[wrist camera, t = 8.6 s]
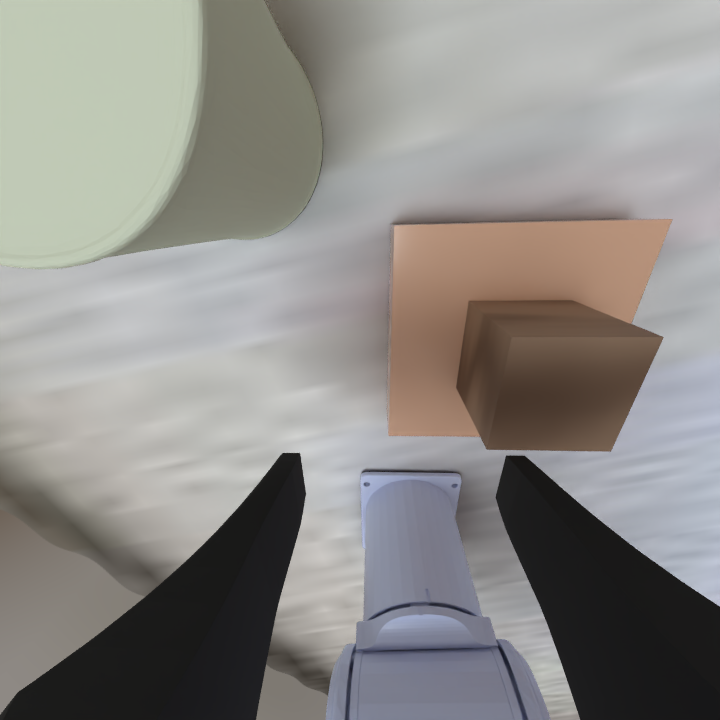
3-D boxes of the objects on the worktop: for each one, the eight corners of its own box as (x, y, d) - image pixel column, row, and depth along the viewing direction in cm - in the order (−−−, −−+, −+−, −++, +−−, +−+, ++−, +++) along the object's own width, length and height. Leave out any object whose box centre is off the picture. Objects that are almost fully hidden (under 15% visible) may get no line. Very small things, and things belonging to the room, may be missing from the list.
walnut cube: (545, 388, 17) (610, 451, 12) (455, 387, 17) (486, 449, 12) (572, 300, 14) (663, 337, 10) (468, 300, 15) (511, 336, 10)
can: (316, 3, 12) (-61, -1434, 2) (328, 239, 16) (242, 276, 6) (106, 11, 13) (-1349, -1121, 2) (167, 240, 17) (-204, 277, 6)
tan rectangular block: (558, 408, 21) (586, 437, 18) (386, 408, 21) (388, 435, 18) (619, 219, 15) (672, 219, 13) (390, 224, 16) (394, 225, 13)
